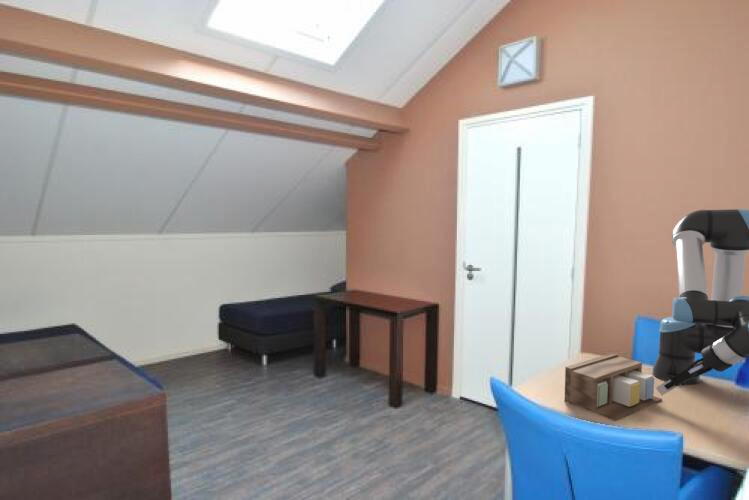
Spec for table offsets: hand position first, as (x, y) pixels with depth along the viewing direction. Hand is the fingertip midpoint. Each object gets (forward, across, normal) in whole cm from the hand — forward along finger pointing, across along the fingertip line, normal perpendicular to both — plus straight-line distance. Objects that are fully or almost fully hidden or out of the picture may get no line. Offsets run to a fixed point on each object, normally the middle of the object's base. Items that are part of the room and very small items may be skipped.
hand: (659, 391), depth 149 cm
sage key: (+12, -18, +6) cm, 22 cm away
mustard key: (+8, -9, +2) cm, 12 cm away
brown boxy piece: (+10, -9, +3) cm, 14 cm away
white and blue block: (+8, 0, +2) cm, 8 cm away
